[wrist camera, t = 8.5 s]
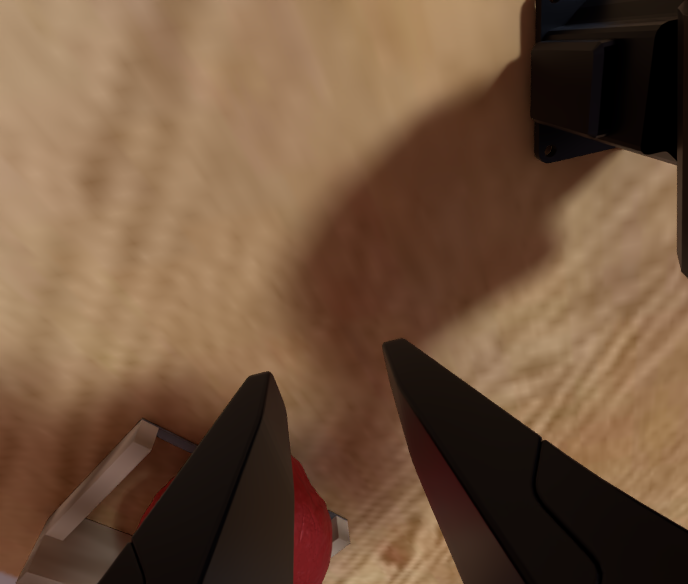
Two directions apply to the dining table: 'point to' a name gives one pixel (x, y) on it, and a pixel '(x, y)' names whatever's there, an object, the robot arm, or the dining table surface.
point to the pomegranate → (301, 529)
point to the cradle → (98, 540)
